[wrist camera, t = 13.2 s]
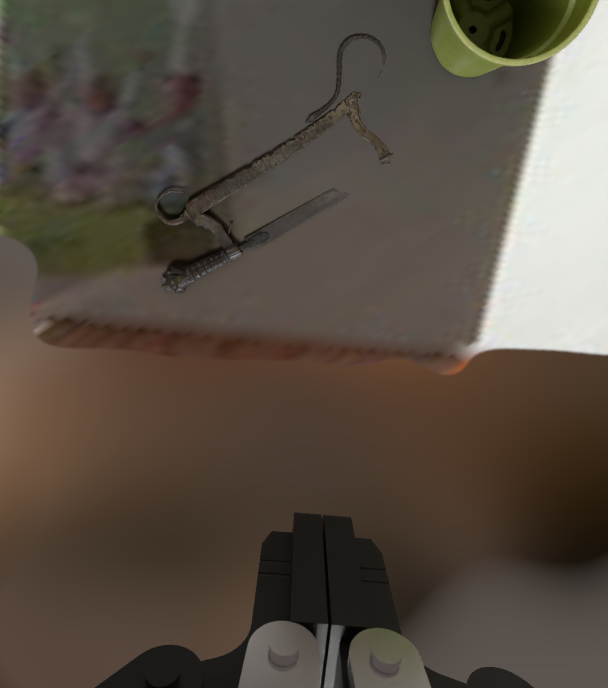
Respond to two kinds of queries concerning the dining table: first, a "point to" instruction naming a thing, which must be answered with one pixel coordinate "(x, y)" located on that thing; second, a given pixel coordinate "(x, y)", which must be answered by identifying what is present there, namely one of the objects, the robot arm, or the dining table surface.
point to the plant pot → (515, 20)
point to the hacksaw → (198, 205)
